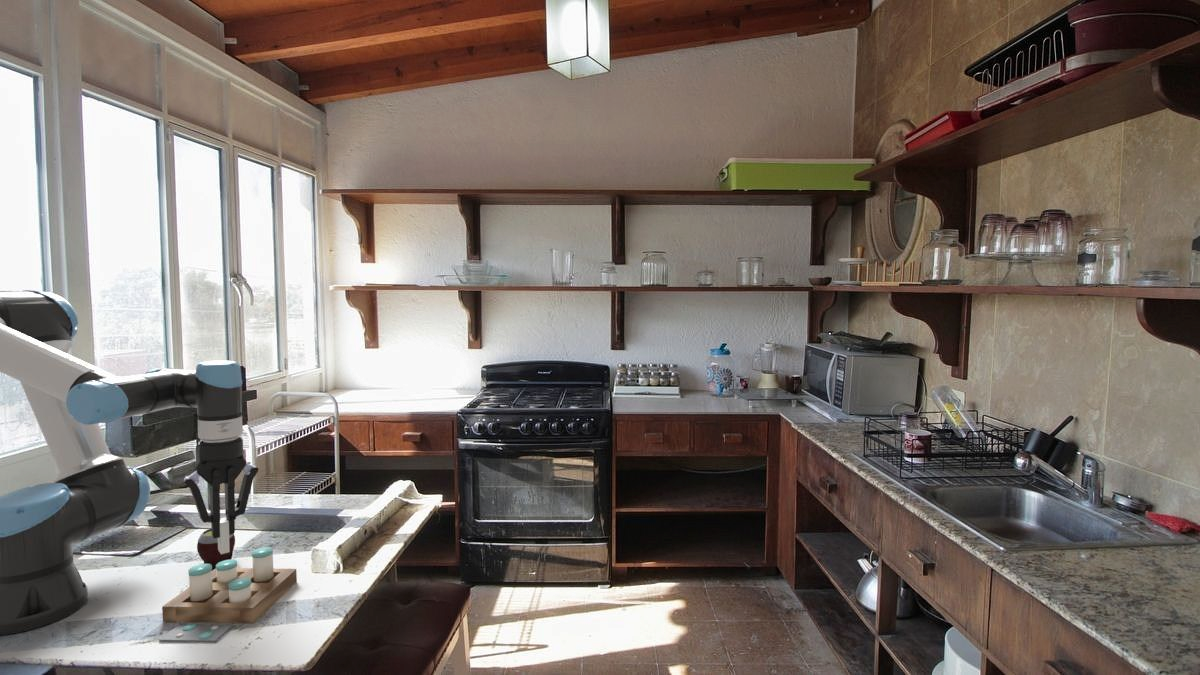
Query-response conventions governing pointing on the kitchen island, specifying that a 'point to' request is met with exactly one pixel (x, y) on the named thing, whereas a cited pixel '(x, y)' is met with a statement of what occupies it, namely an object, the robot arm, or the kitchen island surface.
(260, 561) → the button
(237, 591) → the button
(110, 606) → the kitchen island surface
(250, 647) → the kitchen island surface
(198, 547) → the mate gourd
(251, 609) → the board
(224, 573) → the button
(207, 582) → the button
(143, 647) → the kitchen island surface
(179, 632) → the card
